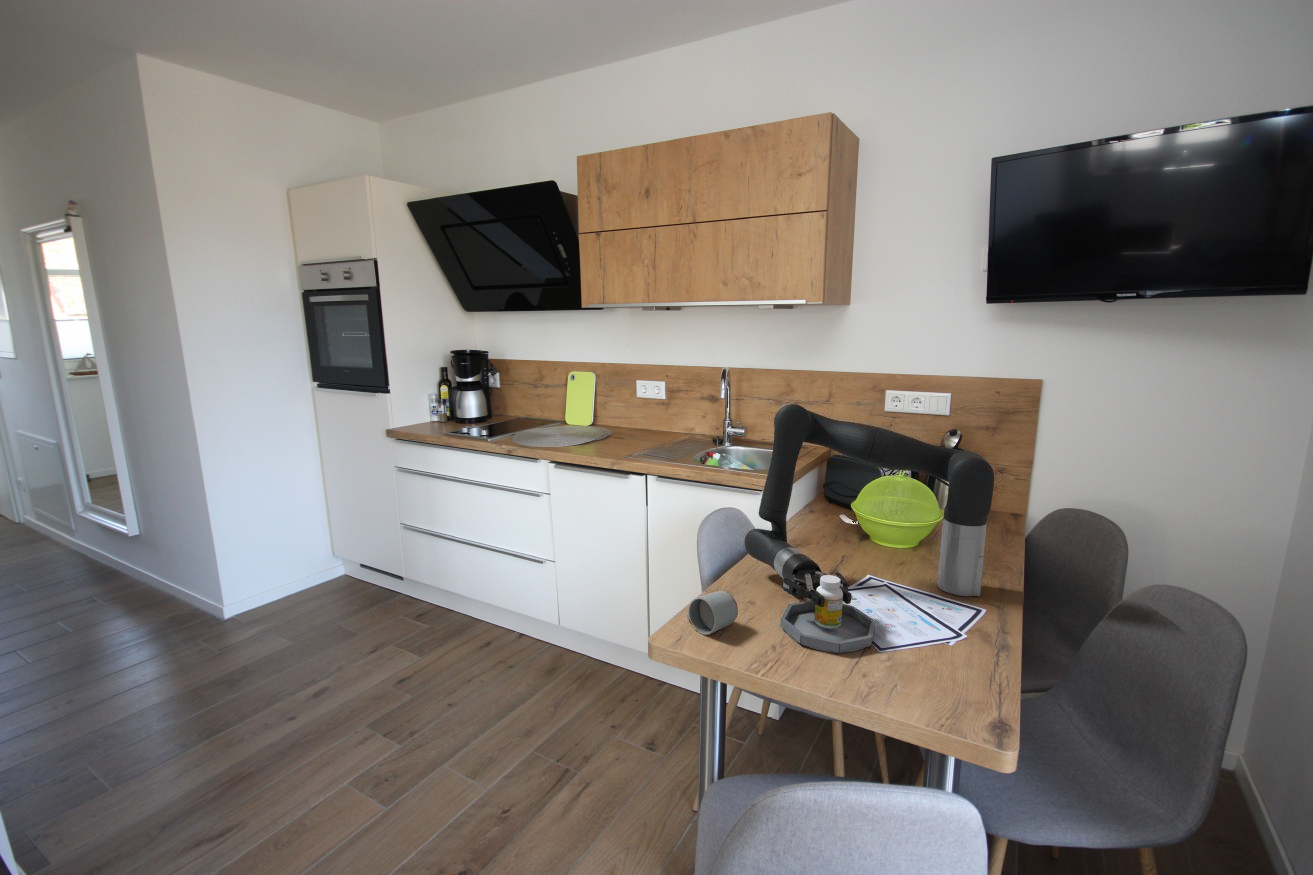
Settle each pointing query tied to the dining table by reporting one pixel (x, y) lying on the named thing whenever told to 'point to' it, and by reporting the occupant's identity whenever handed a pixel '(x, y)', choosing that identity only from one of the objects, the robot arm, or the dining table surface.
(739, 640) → the dining table surface
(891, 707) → the dining table surface
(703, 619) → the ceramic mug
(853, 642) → the dish
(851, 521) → the fork
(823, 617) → the supplement bottle
